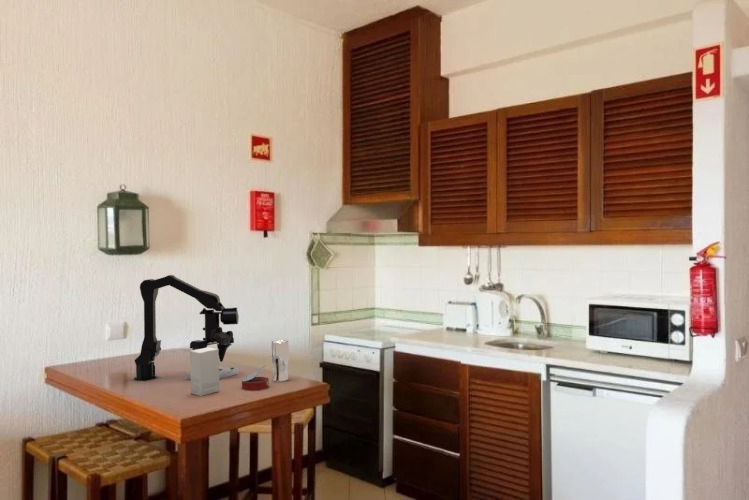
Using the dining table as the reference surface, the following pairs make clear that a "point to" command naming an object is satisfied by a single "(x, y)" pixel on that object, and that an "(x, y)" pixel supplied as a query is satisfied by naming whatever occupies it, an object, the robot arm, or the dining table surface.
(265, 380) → the canned food
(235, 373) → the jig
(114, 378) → the dining table surface
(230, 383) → the dining table surface
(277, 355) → the white tall container
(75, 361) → the dining table surface
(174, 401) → the dining table surface
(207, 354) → the skincare box
